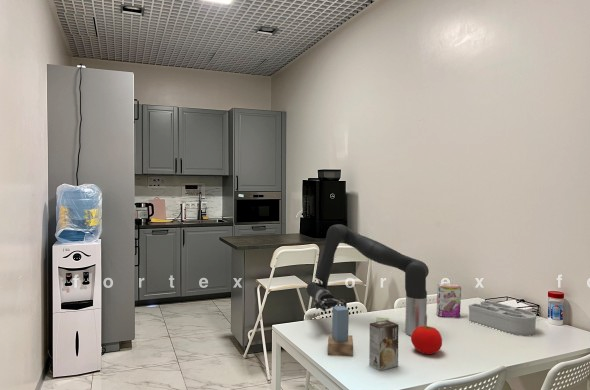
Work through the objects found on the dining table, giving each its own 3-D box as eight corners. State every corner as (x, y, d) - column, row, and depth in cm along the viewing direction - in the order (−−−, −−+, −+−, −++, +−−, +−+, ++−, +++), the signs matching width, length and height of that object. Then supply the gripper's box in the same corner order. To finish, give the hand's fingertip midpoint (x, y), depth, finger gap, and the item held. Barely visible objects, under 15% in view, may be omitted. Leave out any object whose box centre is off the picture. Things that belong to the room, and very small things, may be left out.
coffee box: (387, 360, 164) (388, 319, 164) (398, 366, 159) (399, 324, 158) (368, 364, 160) (369, 322, 160) (379, 371, 154) (380, 327, 154)
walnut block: (352, 347, 178) (352, 335, 177) (353, 356, 168) (353, 344, 167) (328, 346, 178) (328, 334, 178) (327, 355, 169) (328, 343, 168)
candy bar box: (438, 317, 218) (439, 285, 218) (436, 314, 223) (436, 283, 223) (460, 318, 217) (461, 286, 217) (457, 315, 222) (458, 284, 222)
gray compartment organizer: (486, 316, 222) (486, 300, 222) (542, 332, 199) (542, 314, 199) (468, 322, 212) (468, 305, 212) (524, 339, 189) (525, 320, 189)
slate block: (343, 336, 176) (343, 305, 175) (348, 341, 171) (348, 309, 170) (331, 337, 174) (332, 306, 174) (336, 342, 169) (337, 310, 169)
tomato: (438, 360, 165) (438, 333, 165) (407, 353, 172) (408, 327, 171) (444, 350, 175) (445, 325, 174) (415, 344, 181) (416, 320, 181)
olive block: (387, 349, 175) (388, 318, 175) (388, 353, 170) (389, 322, 170) (375, 348, 176) (376, 317, 176) (376, 353, 171) (376, 321, 171)
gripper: (310, 291, 198) (318, 300, 182) (339, 290, 201) (350, 299, 185) (310, 307, 198) (318, 318, 182) (339, 305, 201) (350, 316, 185)
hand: (334, 308), depth 184 cm, fingers open, 8 cm apart
